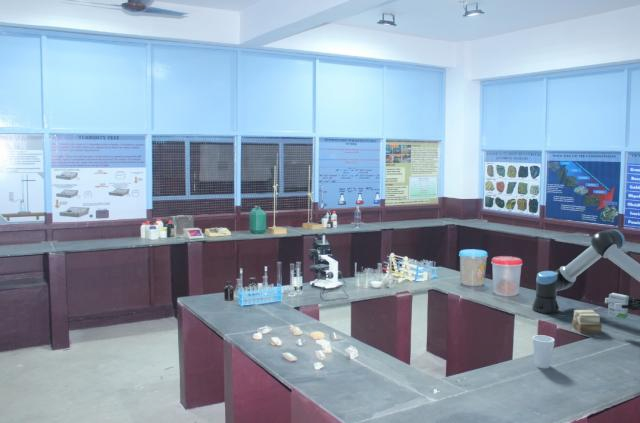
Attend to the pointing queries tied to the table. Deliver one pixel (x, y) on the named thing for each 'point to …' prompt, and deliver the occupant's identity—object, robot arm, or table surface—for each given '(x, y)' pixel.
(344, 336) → the table surface
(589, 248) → the robot arm
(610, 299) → the ink box
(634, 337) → the table surface
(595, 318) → the top block
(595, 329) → the bottom block
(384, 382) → the table surface
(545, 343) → the foam cup
